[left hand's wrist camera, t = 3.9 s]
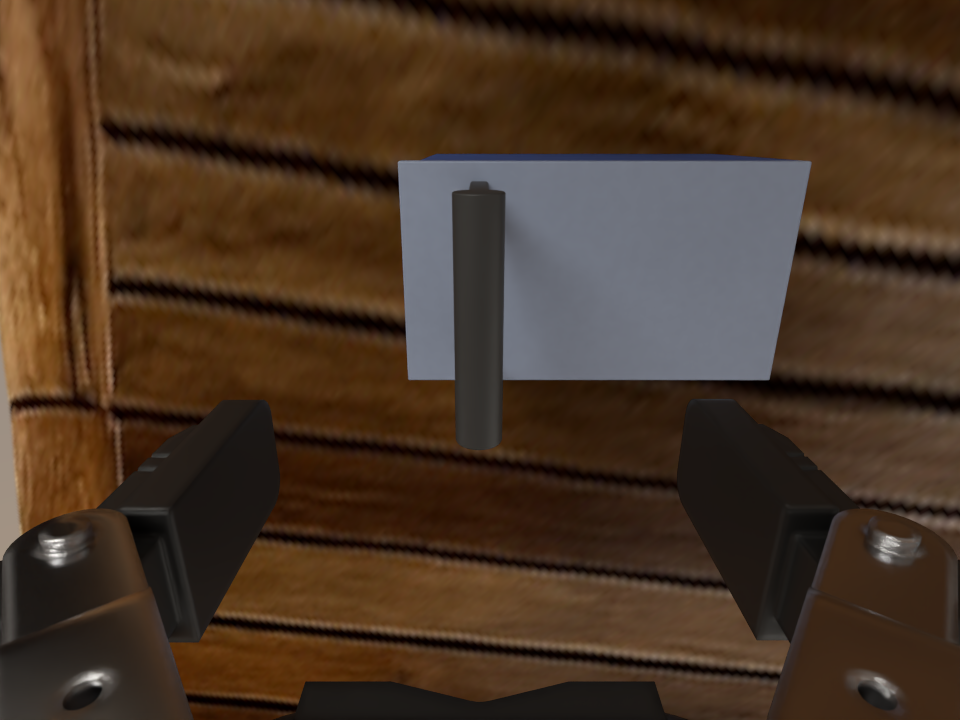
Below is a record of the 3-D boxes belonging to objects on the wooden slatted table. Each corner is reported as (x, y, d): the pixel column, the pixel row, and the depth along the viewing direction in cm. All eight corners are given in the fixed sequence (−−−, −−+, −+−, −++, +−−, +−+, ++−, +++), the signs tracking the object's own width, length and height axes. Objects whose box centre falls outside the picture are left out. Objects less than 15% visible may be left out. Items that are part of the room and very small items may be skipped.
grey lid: (410, 373, 26) (382, 466, 19) (400, 160, 23) (362, 171, 16) (761, 373, 26) (871, 466, 19) (801, 160, 23) (954, 171, 16)
